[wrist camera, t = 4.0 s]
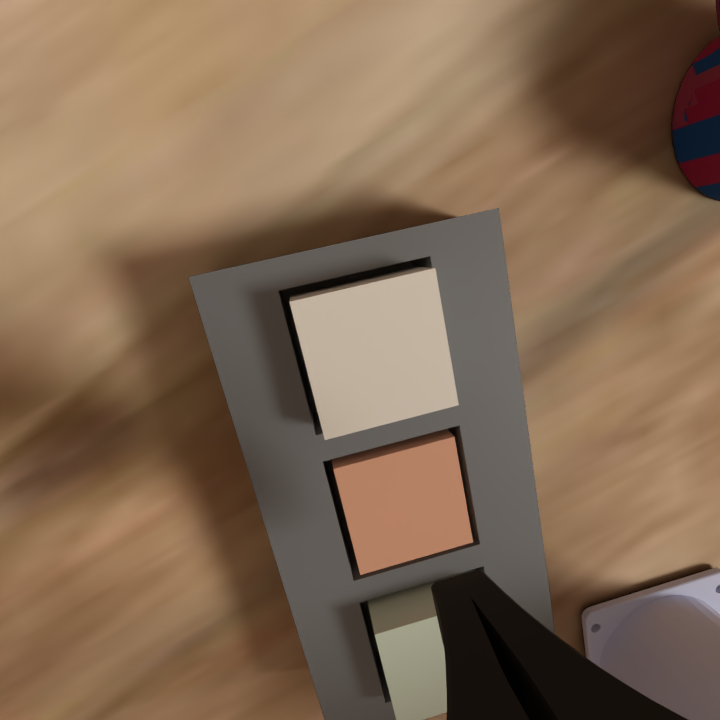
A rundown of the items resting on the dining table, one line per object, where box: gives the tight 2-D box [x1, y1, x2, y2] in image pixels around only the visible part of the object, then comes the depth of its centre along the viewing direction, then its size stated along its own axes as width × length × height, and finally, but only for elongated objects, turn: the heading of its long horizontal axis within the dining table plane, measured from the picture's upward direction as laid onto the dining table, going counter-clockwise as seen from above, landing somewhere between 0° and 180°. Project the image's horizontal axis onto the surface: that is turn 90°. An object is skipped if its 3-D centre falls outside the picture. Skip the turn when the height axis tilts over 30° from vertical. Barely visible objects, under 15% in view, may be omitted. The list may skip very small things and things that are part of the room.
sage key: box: [367, 569, 475, 720], centre depth 17 cm, size 4×4×2 cm
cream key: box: [289, 267, 459, 440], centre depth 15 cm, size 4×4×2 cm
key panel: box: [189, 208, 555, 720], centre depth 18 cm, size 19×10×3 cm, turn 12°
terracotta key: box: [332, 429, 473, 575], centre depth 17 cm, size 4×4×2 cm
